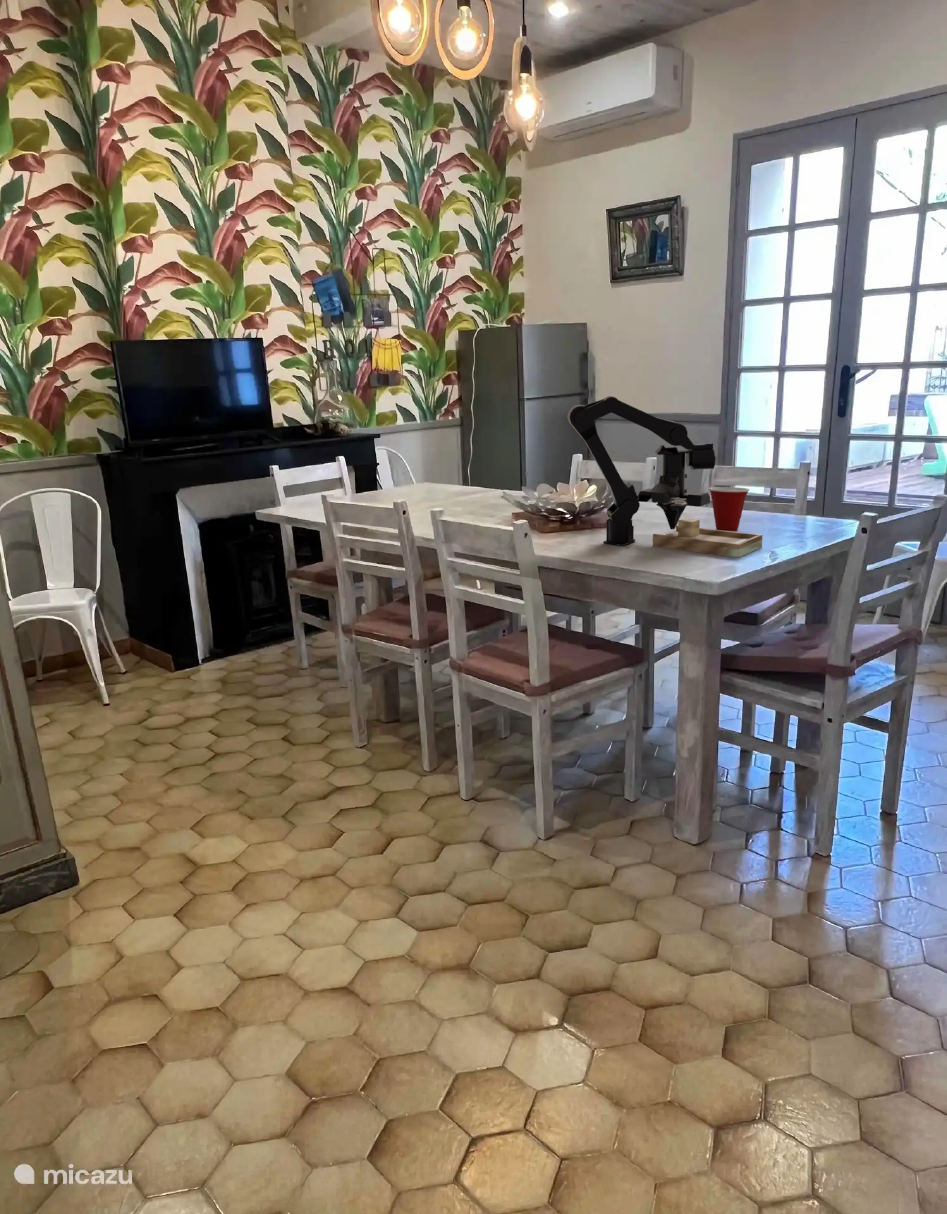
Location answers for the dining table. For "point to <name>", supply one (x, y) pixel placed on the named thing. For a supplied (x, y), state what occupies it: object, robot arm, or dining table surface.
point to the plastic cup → (728, 506)
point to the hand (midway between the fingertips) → (672, 529)
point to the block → (688, 527)
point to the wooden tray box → (711, 542)
